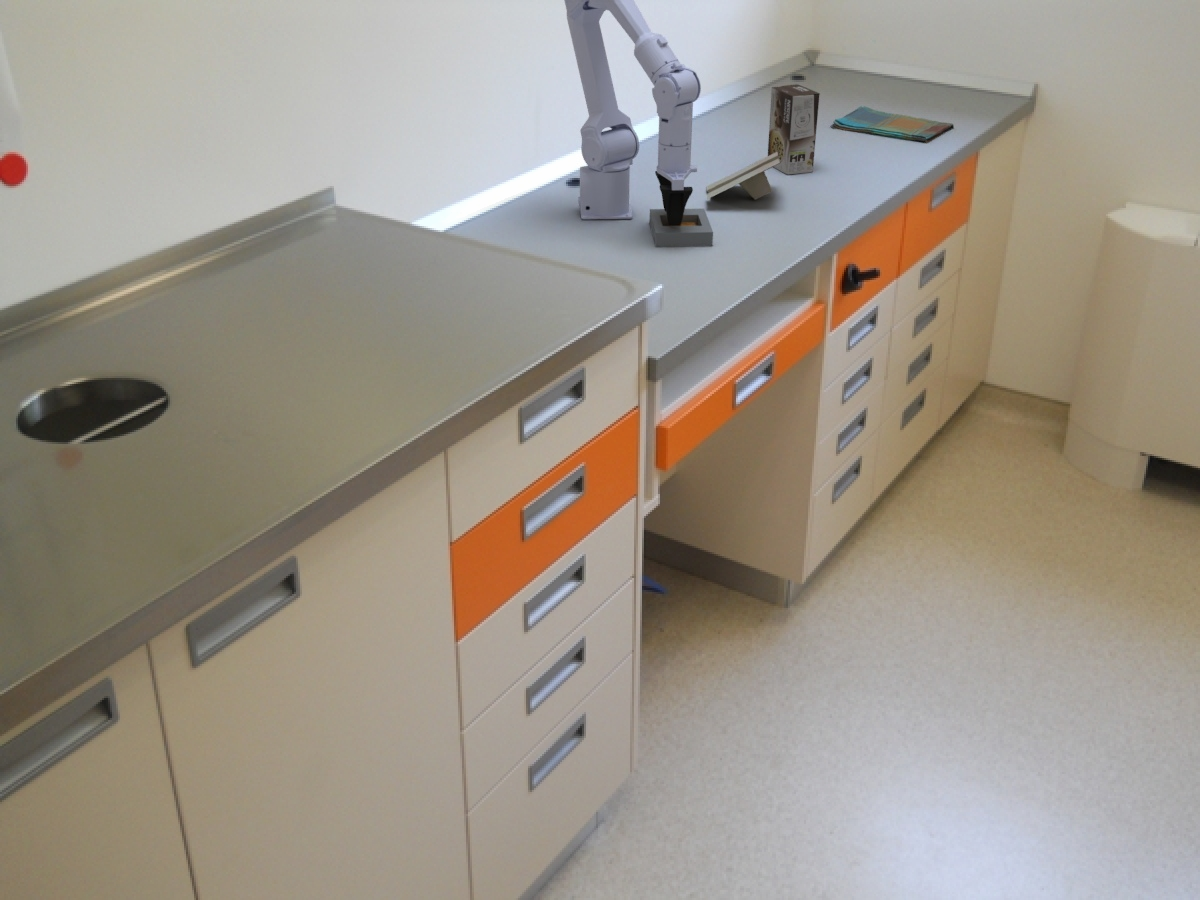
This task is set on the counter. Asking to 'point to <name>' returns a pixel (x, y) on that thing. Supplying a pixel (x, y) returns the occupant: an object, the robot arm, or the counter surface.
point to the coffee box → (793, 127)
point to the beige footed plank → (747, 179)
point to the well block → (681, 229)
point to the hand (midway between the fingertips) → (672, 217)
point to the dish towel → (891, 125)
